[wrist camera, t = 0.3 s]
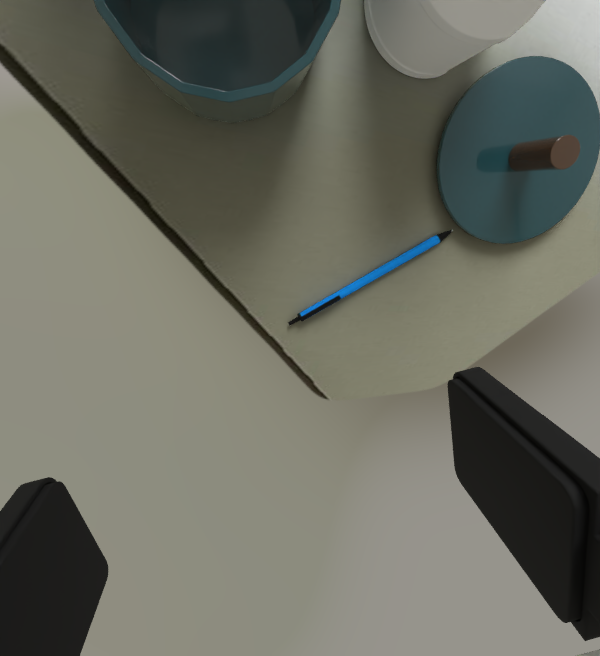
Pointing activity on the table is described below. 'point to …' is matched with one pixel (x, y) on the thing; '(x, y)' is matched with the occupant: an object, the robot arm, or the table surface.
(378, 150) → the table surface
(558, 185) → the lid
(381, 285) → the table surface
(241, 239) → the table surface
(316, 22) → the pot
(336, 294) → the pen
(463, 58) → the jar
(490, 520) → the robot arm
